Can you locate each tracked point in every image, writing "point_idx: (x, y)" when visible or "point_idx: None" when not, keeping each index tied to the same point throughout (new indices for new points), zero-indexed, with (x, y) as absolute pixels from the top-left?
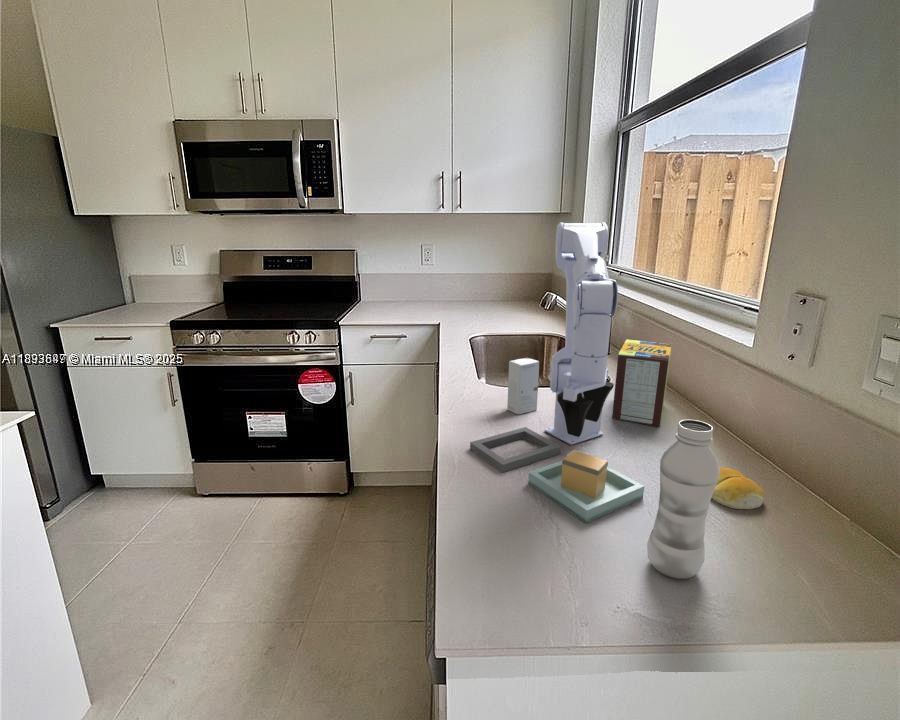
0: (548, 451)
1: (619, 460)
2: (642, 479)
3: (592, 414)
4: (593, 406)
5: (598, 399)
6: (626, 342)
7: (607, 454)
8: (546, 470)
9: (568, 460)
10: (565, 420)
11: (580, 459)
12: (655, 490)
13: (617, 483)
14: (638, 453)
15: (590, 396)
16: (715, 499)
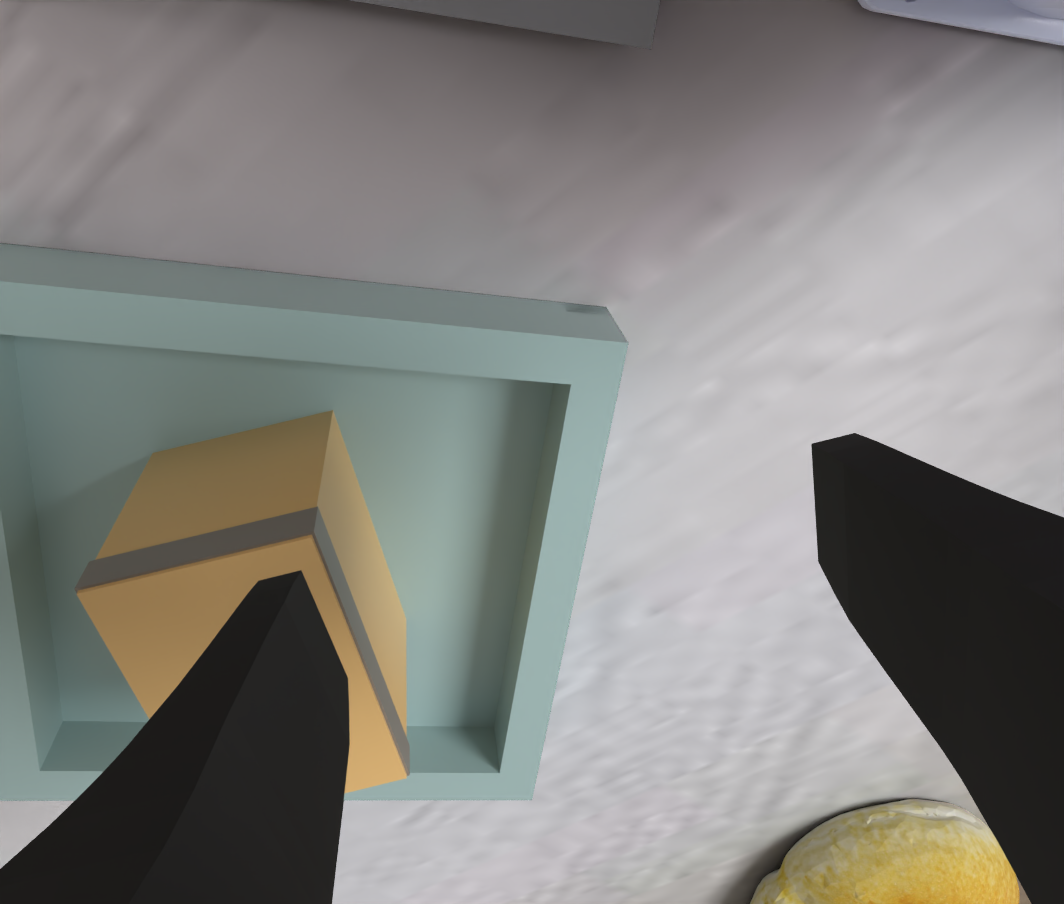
0: (472, 18)
1: (860, 430)
2: (715, 638)
3: (859, 565)
4: (927, 645)
5: (1011, 796)
6: None
7: (897, 323)
8: (98, 340)
9: (102, 638)
10: (161, 707)
11: None
12: (650, 727)
13: (510, 636)
14: (1050, 446)
15: (1034, 710)
16: (755, 896)
